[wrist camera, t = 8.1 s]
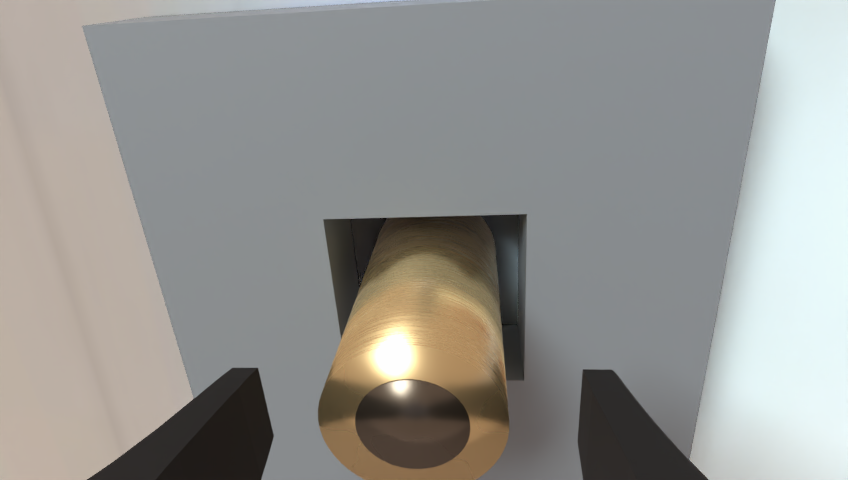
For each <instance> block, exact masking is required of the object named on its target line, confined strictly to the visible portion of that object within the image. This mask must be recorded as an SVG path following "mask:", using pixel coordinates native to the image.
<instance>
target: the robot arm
mask: <svg viewBox="0 0 848 480" xmlns="http://www.w3.org/2000/svg"><path fill="white" fill-rule="evenodd" d="M273 438H274V434H273V430H272V426H271V421H270V417H269V413H268V408H267V404H266V400H265V395H264V391H263V387H262V382H261V378H260V374H259V370H258V368H231V369H230V370H229V371H227V372H226V373H225V374H224V375H222V376H221V377H220V378H219V379H217V380H216V381H215V382H214V383H212V384H211V385H210V386H209V387H208V388H206V389H205V390H204V391H203V392H202V393H200V394H199V395H198V396H197V397H196V398H194V399H193V400H192V401H191V402H190V403H188V404H187V405H186V406H185V407H183V408H182V409H181V410H180V411H179V412H177V413H176V414H175V415H174V416H172V417H171V418H170V419H169V420H168V421H166V422H165V423H164V424H163V425H161V426H160V427H159V428H158V429H156V430H155V431H154V432H152V433H151V434H150V435H148V436H147V437H146V438H144V439H143V440H142V441H140V442H139V443H138V444H136V445H135V446H134V447H132V448H131V449H130V450H129V451H127V452H126V453H125V454H123V455H122V456H121V457H119V458H118V459H117V460H115V461H114V462H112V463H111V464H110V465H108V466H107V467H105V468H104V469H102V470H101V471H99V472H98V473H96V474H95V475H94V476H92V477H90V478H89V479H87V480H261V479H262V475H263V472H264V469H265V466H266V462H267V459H268V456H269V452H270V448H271V445H272V441H273ZM577 442H578V449H579V456H580V462H581V469H582V475H583V480H708V479H707V478H706V477H705V476H704V475H703V474H702V473H701V472H700V471H699V470H698V469H697V468H696V467H695V466H694V464H693V463H692V462H691V461H690V460H689V459H688V458H687V457H686V456H685V455H684V454H683V453H682V452H681V451H680V450H679V449H678V448H677V447H676V445H675V444H674V443H673V442H672V441H671V440H670V439H669V438H668V436H667V435H666V434H665V433H664V432H663V431H662V430H661V428H660V427H659V426H658V425H657V424H656V423H655V422H654V420H653V419H652V418H651V417H650V416H649V414H648V413H647V412H646V411H645V410H644V408H643V407H642V406H641V405H640V403H639V402H638V401H637V400H636V398H635V397H634V396H633V395H632V393H631V392H630V391H629V389H628V388H627V387H626V386H625V384H624V383H623V382H622V380H621V379H620V378H619V376H618V375H617V374H616V373H615V372H614V371H613V370H598V369H583V372H582V386H581V400H580V414H579V428H578V441H577Z"/></svg>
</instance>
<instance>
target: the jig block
mask: <svg viewBox="0 0 848 480" xmlns="http://www.w3.org/2000/svg"><path fill="white" fill-rule="evenodd" d="M775 1H776V0H406V1H390V2H375V3H359V4H344V5H328V6H312V7H297V8H281V9H265V10H250V11H234V12H218V13H203V14H187V15H171V16H156V17H144V18H136V19H129V20H122V21H115V22H107V23H100V24H93V25H86V26H82V27H83V31H84V34H85V37H86V41H87V44H88V47H89V51H90V54H91V57H92V61H93V64H94V67H95V71H96V74H97V77H98V81H99V84H100V87H101V91H102V94H103V97H104V101H105V104H106V107H107V111H108V114H109V117H110V121H111V124H112V127H113V131H114V134H115V137H116V141H117V144H118V147H119V151H120V154H121V157H122V161H123V164H124V167H125V171H126V174H127V177H128V181H129V184H130V187H131V191H132V194H133V197H134V200H135V204H136V207H137V210H138V214H139V217H140V220H141V224H142V227H143V230H144V234H145V237H146V240H147V244H148V247H149V250H150V254H151V257H152V260H153V264H154V267H155V270H156V274H157V277H158V280H159V284H160V287H161V290H162V294H163V297H164V300H165V304H166V307H167V310H168V314H169V317H170V320H171V324H172V327H173V330H174V334H175V337H176V340H177V344H178V347H179V350H180V354H181V357H182V360H183V364H184V367H185V370H186V374H187V377H188V380H189V384H190V387H191V390H192V394H193V397H194V398H196V397H197V396H198V395H199V394H200V393H202V392H203V391H204V390H205V389H206V388H208V387H209V386H210V385H211V384H212V383H214V382H215V381H216V380H217V379H219V378H220V377H221V376H222V375H224V374H225V373H226V372H227V371H229V370H230V369H231V368H258V370H259V374H260V378H261V382H262V387H263V391H264V395H265V400H266V404H267V408H268V413H269V417H270V421H271V426H272V430H273V434H274V438H273V441H272V445H271V448H270V452H269V456H268V459H267V462H266V466H265V469H264V472H263V475H262V479H261V480H364V479H363V478H361V477H359V476H357V475H356V474H354V473H353V472H351V471H350V470H349V469H347V468H346V467H345V466H344V465H343V464H341V462H340V461H339V460H338V459H337V458H336V457H335V456H334V455H333V453H332V452H331V451H330V449H329V448H328V446H327V445H326V443H325V441H324V439H323V436H322V434H321V431H320V427H319V422H318V406H319V400H320V397H321V394H322V391H323V388H324V385H325V383H326V380H327V377H328V374H329V372H330V369H331V366H332V363H333V360H334V358H335V355H336V352H337V349H338V347H339V344H340V341H341V338H342V336H343V333H344V330H345V327H346V324H347V322H348V319H349V316H350V313H351V311H352V308H353V305H354V302H355V299H356V297H357V294H358V291H359V282H358V274H357V267H356V259H355V251H354V243H353V235H352V227H351V220H350V219H356V218H395V217H435V216H475V215H514V214H519V228H518V321H517V325H502V336H503V349H504V361H505V374H506V386H507V399H508V412H509V435H508V440H507V443H506V446H505V449H504V451H503V453H502V454H501V456H500V458H499V459H498V460H497V462H496V463H495V464H494V465H493V466H492V467H491V468H490V469H489V470H488V471H487V472H486V473H485V474H483V475H482V476H480V477H479V478H478V479H476V480H583V475H582V469H581V462H580V456H579V449H578V442H577V441H578V428H579V414H580V400H581V386H582V372H583V369H598V370H613V371H614V372H615V373H616V374H617V375H618V376H619V378H620V379H621V380H622V382H623V383H624V384H625V386H626V387H627V388H628V389H629V391H630V392H631V393H632V395H633V396H634V397H635V398H636V400H637V401H638V402H639V403H640V405H641V406H642V407H643V408H644V410H645V411H646V412H647V413H648V414H649V416H650V417H651V418H652V419H653V420H654V422H655V423H656V424H657V425H658V426H659V427H660V428H661V430H662V431H663V432H664V433H665V434H666V435H667V436H668V438H669V439H670V440H671V441H672V442H673V443H674V444H675V445H676V447H677V448H678V449H679V450H680V451H681V452H682V453H683V454H684V455H685V456H686V457H687V458H688V459H689V458H690V453H691V448H692V443H693V437H694V432H695V427H696V421H697V416H698V411H699V405H700V400H701V395H702V389H703V384H704V379H705V373H706V368H707V363H708V357H709V352H710V347H711V341H712V336H713V331H714V325H715V320H716V315H717V309H718V304H719V299H720V294H721V288H722V283H723V278H724V272H725V267H726V262H727V256H728V251H729V246H730V240H731V235H732V230H733V224H734V219H735V214H736V208H737V203H738V198H739V192H740V187H741V182H742V176H743V171H744V166H745V160H746V155H747V150H748V145H749V139H750V134H751V129H752V123H753V118H754V113H755V107H756V102H757V97H758V91H759V86H760V81H761V75H762V70H763V65H764V59H765V54H766V49H767V43H768V38H769V33H770V27H771V22H772V17H773V11H774V6H775Z"/></svg>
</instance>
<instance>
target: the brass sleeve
mask: <svg viewBox="0 0 848 480" xmlns="http://www.w3.org/2000/svg"><path fill="white" fill-rule="evenodd" d="M318 422H319V427H320V431H321V434H322V436H323V439H324V441H325V443H326V445H327V446H328V448H329V449H330V451H331V452H332V453H333V455H334V456H335V457H336V458H337V459H338V460H339V461H340V462H341V464H343V465H344V466H345V467H346V468H347V469H349V470H350V471H351V472H353V473H354V474H356V475H357V476H359V477H361V478H363V479H364V480H476V479H478V478H479V477H480V476H482V475H483V474H485V473H486V472H487V471H488V470H489V469H490V468H491V467H492V466H493V465H494V464H495V463H496V462H497V460H498V459H499V458H500V456H501V454H502V453H503V451H504V449H505V446H506V443H507V440H508V435H509V412H508V399H507V386H506V374H505V361H504V349H503V336H502V323H501V311H500V298H499V286H498V273H497V260H496V248H495V242H494V238H493V235H492V232H491V230H490V228H489V226H488V225H487V223H486V222H485V220H484V219H483V218H482V217H481V216H480V215H475V216H435V217H395V218H387V220H386V221H385V223H384V224H383V226H382V228H381V230H380V233H379V236H378V238H377V241H376V244H375V247H374V249H373V252H372V255H371V258H370V261H369V263H368V266H367V269H366V272H365V274H364V277H363V280H362V283H361V286H360V288H359V291H358V294H357V297H356V299H355V302H354V305H353V308H352V311H351V313H350V316H349V319H348V322H347V324H346V327H345V330H344V333H343V336H342V338H341V341H340V344H339V347H338V349H337V352H336V355H335V358H334V360H333V363H332V366H331V369H330V372H329V374H328V377H327V380H326V383H325V385H324V388H323V391H322V394H321V397H320V400H319V406H318Z"/></svg>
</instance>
